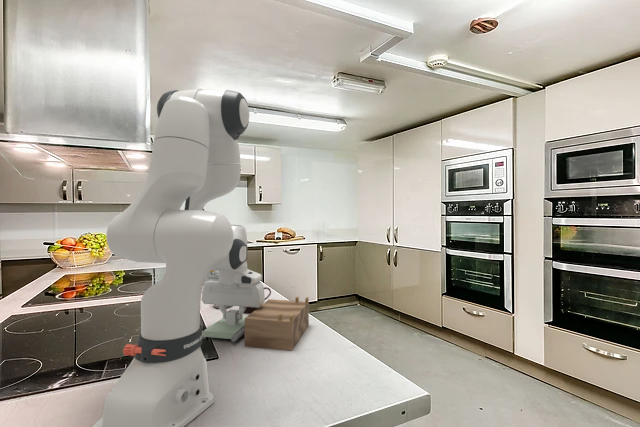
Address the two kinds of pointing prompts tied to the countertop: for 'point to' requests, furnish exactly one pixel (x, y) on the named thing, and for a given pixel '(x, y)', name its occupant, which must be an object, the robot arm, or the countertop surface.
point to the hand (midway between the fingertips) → (232, 319)
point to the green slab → (227, 327)
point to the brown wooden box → (277, 324)
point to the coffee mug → (251, 309)
